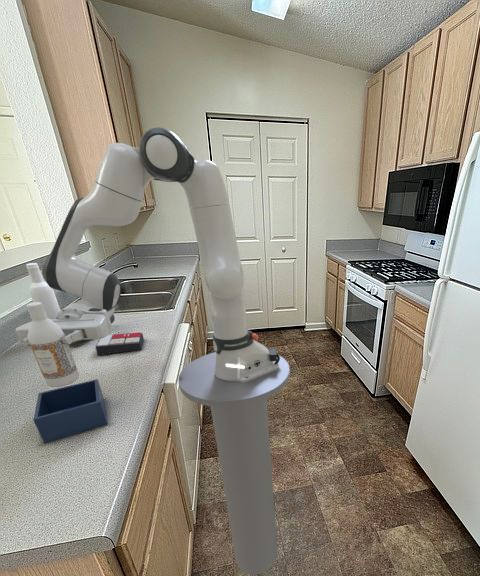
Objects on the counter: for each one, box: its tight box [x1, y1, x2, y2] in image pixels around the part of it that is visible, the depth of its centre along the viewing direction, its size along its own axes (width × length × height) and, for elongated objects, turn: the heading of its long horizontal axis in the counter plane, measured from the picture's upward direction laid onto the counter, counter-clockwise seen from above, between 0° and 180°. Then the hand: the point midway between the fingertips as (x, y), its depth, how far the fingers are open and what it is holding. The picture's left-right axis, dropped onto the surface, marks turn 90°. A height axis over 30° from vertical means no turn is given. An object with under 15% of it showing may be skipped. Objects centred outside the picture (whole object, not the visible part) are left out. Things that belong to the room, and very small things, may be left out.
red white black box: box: [95, 331, 145, 356], centre depth 128 cm, size 11×4×15 cm
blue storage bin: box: [32, 378, 109, 444], centre depth 86 cm, size 14×14×7 cm
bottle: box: [25, 262, 62, 319], centre depth 134 cm, size 8×8×30 cm
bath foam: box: [25, 302, 80, 388], centre depth 79 cm, size 7×7×20 cm
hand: (46, 342), depth 77 cm, fingers closed on bath foam, 7 cm apart
